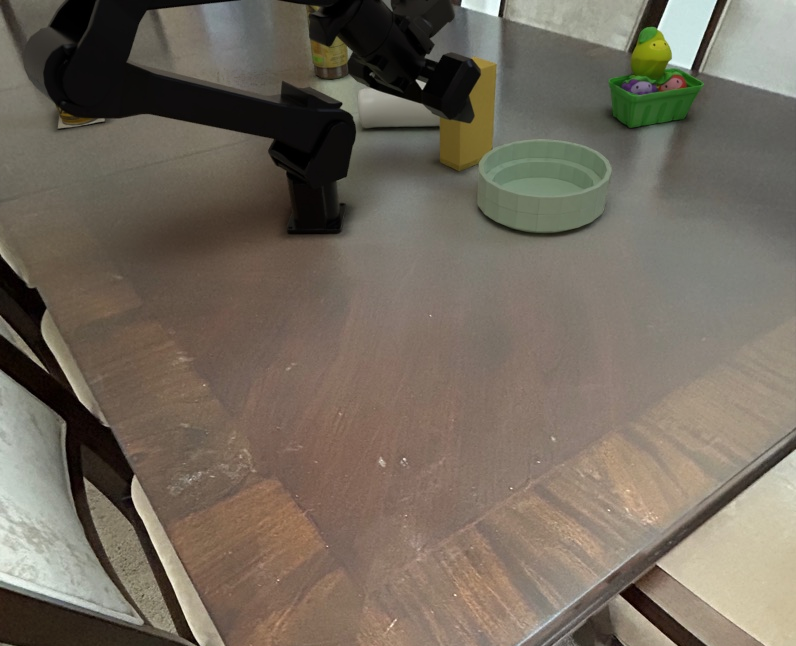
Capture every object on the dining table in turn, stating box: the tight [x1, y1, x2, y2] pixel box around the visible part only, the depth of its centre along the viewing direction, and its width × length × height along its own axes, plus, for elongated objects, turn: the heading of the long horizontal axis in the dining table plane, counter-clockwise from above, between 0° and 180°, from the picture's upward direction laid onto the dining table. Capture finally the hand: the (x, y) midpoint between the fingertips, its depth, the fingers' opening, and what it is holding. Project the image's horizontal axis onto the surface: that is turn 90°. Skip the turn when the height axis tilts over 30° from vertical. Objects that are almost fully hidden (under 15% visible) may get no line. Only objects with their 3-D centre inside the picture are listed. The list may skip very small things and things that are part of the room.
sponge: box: [439, 56, 498, 172], centre depth 87 cm, size 6×4×12 cm, turn 129°
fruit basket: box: [608, 26, 705, 129], centre depth 95 cm, size 11×9×11 cm
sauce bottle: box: [305, 5, 349, 80], centre depth 112 cm, size 6×6×20 cm
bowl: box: [476, 138, 613, 234], centre depth 80 cm, size 15×15×5 cm
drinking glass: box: [357, 79, 440, 129], centre depth 99 cm, size 7×7×15 cm
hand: (446, 109), depth 85 cm, fingers open, 9 cm apart
